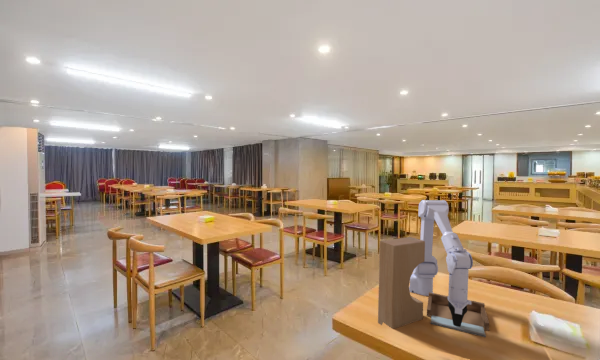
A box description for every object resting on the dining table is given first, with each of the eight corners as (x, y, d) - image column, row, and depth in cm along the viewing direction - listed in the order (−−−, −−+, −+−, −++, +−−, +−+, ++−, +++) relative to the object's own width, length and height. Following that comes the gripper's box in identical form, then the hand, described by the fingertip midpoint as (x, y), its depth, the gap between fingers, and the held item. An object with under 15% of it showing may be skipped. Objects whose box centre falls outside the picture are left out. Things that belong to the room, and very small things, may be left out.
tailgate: (431, 318, 102) (430, 325, 97) (431, 314, 102) (430, 321, 97) (483, 330, 95) (485, 338, 90) (483, 326, 95) (485, 335, 90)
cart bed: (426, 320, 102) (427, 306, 102) (428, 304, 114) (428, 292, 114) (488, 335, 93) (489, 320, 93) (483, 315, 106) (484, 303, 105)
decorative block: (392, 333, 94) (394, 246, 93) (377, 322, 100) (379, 240, 99) (423, 322, 100) (425, 241, 99) (406, 313, 107) (409, 236, 106)
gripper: (473, 297, 87) (472, 339, 87) (470, 281, 100) (468, 318, 100) (448, 292, 90) (447, 333, 91) (447, 277, 103) (446, 313, 103)
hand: (456, 325), depth 96 cm, fingers closed
